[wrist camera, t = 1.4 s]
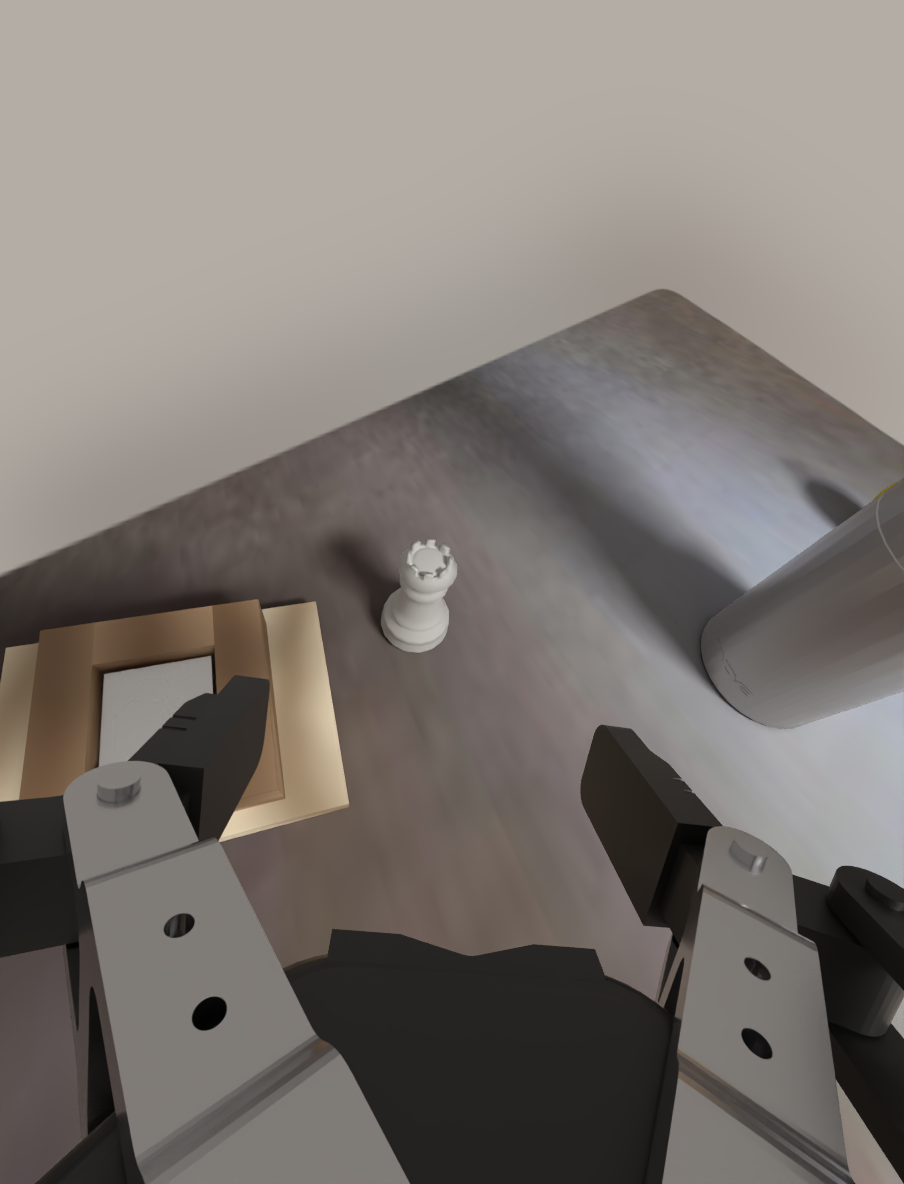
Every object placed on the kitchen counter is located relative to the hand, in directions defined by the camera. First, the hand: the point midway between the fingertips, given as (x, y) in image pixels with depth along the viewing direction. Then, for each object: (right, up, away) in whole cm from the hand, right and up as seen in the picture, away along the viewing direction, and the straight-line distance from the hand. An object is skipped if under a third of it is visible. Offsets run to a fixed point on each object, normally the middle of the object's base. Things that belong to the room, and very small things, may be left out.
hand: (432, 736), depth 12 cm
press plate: (-14, -3, +12) cm, 19 cm away
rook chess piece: (-2, +1, +21) cm, 21 cm away
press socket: (-14, -4, +15) cm, 21 cm away
